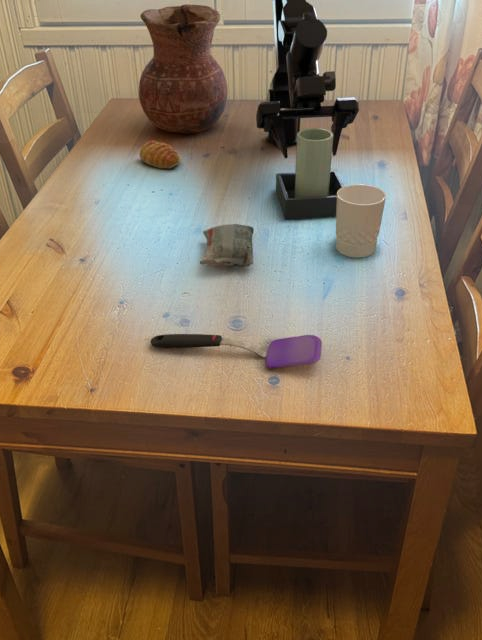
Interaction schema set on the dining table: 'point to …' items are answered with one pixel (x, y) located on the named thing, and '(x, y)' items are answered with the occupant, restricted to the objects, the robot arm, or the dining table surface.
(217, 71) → the jug
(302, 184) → the tumbler
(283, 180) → the tub
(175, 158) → the pastry
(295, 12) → the robot arm
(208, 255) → the packaged food
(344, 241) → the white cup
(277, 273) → the dining table surface
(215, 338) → the spatula
